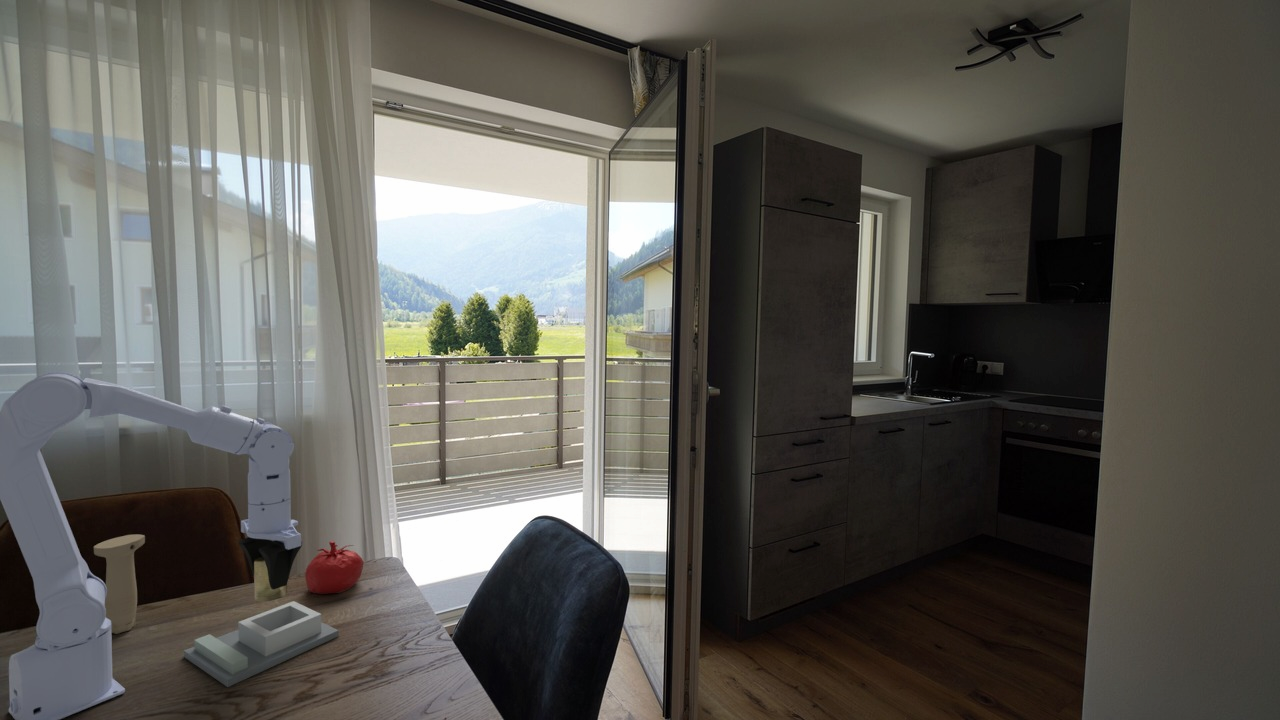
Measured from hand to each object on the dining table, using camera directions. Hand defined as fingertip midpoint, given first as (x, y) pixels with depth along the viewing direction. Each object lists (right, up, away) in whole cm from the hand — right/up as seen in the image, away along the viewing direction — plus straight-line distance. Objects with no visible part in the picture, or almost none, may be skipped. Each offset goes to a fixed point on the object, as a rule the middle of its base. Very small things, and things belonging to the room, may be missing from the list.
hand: (270, 583), depth 91 cm
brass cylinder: (0, -2, 0) cm, 2 cm away
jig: (0, -10, -1) cm, 10 cm away
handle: (-27, -9, +3) cm, 29 cm away
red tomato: (0, -9, +20) cm, 22 cm away
